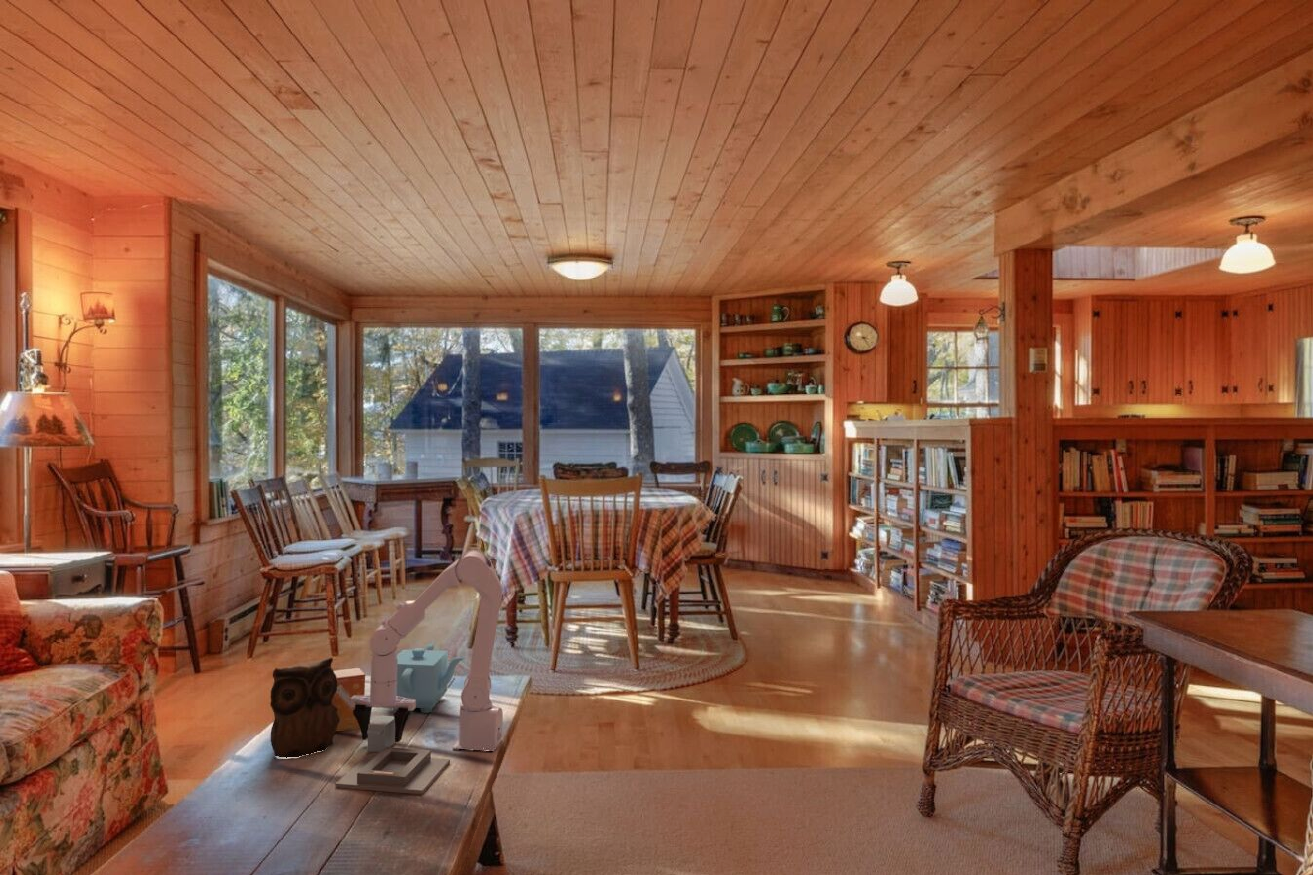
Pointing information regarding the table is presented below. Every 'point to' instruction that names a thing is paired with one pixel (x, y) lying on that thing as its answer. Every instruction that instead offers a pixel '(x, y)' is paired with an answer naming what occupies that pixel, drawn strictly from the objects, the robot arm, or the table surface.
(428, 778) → the chassis
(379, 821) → the table surface
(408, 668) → the teakettle
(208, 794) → the table surface
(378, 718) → the block
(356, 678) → the small box
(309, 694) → the owl
